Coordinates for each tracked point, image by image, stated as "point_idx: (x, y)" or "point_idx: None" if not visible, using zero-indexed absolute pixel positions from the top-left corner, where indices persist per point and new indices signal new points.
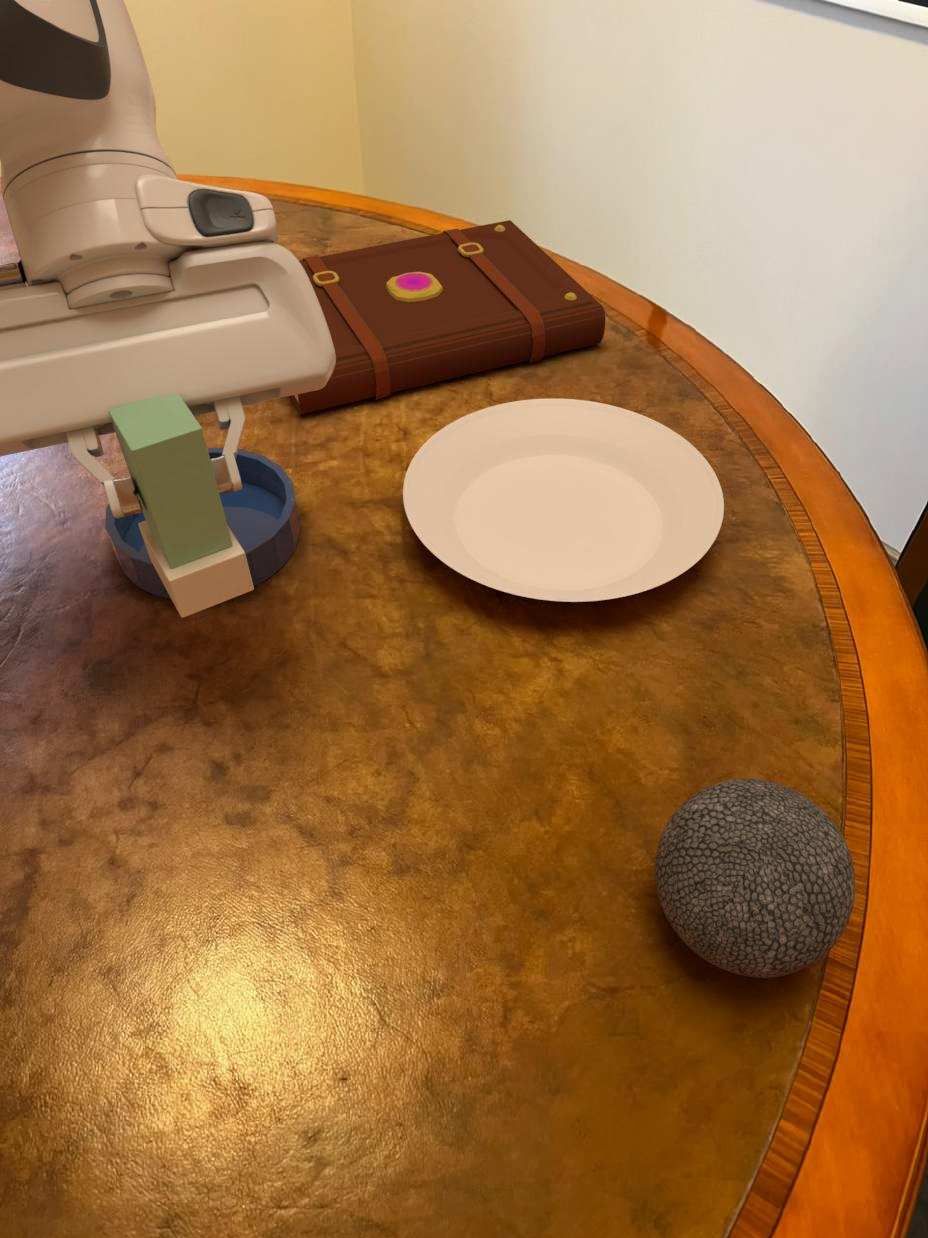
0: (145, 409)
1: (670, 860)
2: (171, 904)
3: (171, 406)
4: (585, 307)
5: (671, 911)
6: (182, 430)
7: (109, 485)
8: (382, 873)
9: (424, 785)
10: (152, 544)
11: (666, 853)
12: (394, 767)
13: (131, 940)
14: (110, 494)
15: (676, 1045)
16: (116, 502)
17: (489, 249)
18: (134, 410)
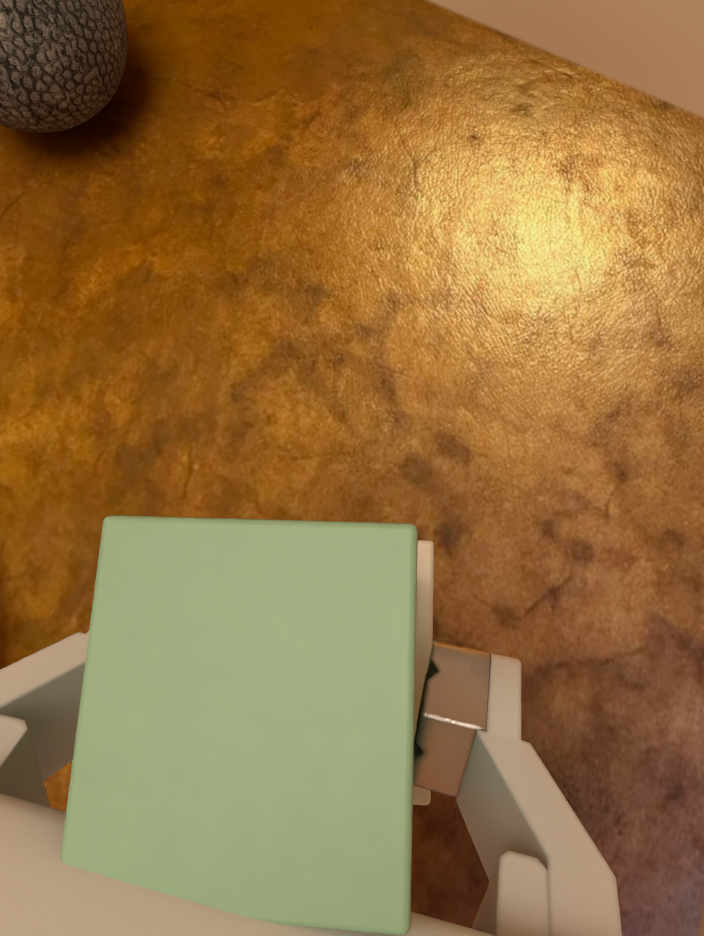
0: (247, 810)
1: (72, 17)
2: (570, 382)
3: (136, 759)
4: None
5: (114, 21)
6: (177, 542)
7: (503, 723)
8: (336, 298)
9: (231, 374)
10: None
11: (70, 30)
12: (247, 416)
13: (627, 364)
14: (509, 698)
15: (200, 37)
16: (498, 673)
17: None
18: (295, 840)
